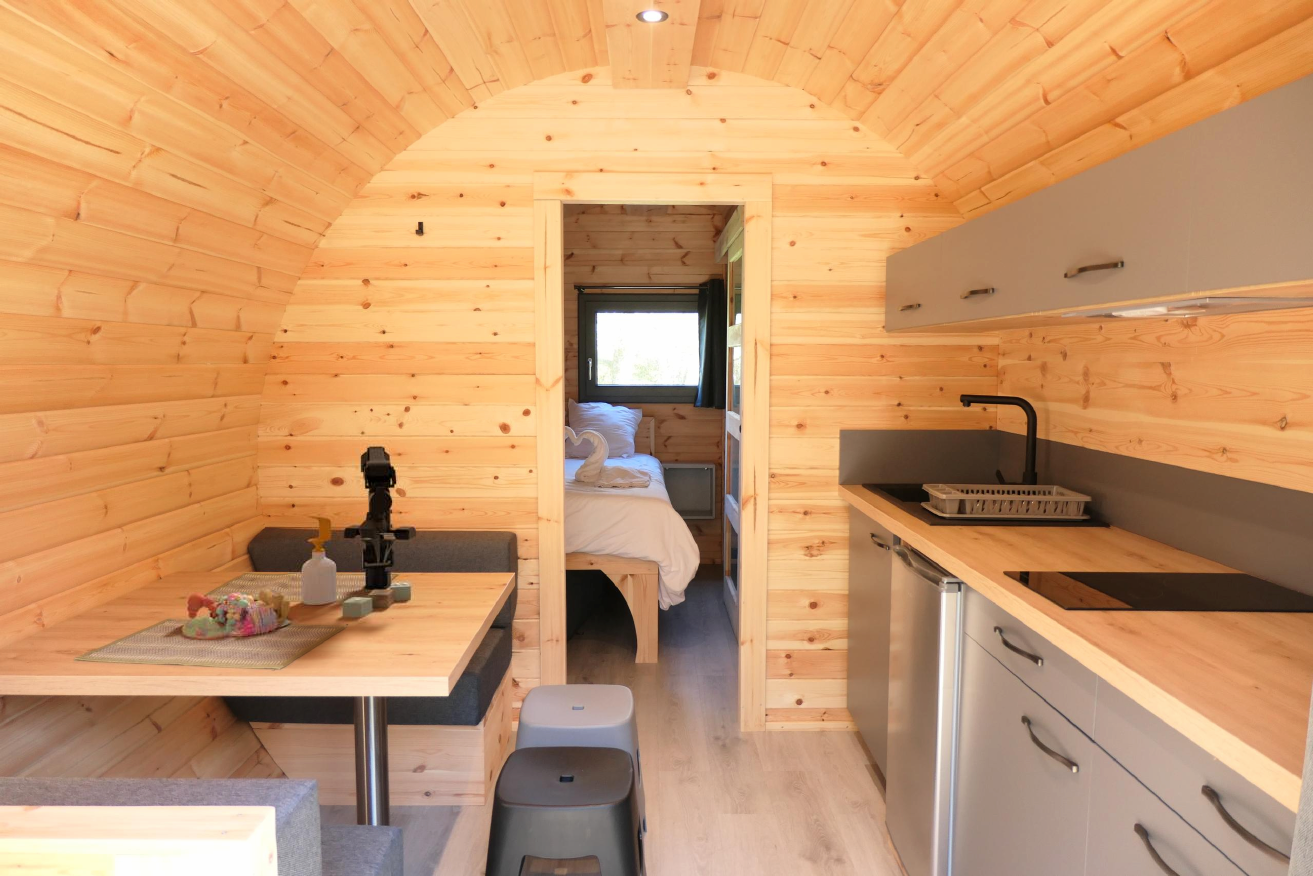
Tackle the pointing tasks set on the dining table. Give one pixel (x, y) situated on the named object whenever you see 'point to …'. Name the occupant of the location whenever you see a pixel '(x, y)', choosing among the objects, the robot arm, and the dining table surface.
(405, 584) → the dotted block two
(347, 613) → the grey-green block
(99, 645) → the dining table surface
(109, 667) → the dining table surface
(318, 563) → the soap bottle
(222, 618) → the colorful coral reef ornament
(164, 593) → the dining table surface
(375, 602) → the walnut block
